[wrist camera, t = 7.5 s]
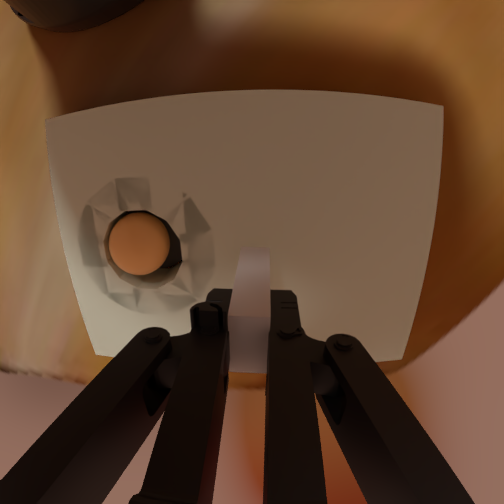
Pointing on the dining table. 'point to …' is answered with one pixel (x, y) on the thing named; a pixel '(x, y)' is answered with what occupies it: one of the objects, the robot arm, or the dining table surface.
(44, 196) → the dining table surface
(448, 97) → the dining table surface
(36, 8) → the robot arm
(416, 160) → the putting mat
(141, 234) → the ball
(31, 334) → the dining table surface
